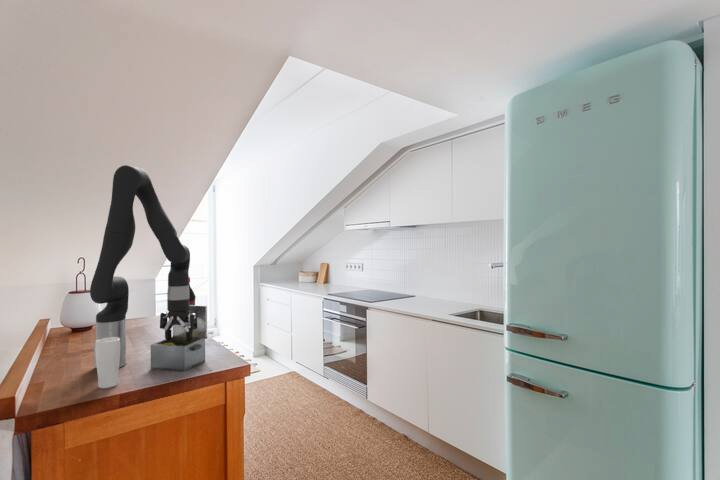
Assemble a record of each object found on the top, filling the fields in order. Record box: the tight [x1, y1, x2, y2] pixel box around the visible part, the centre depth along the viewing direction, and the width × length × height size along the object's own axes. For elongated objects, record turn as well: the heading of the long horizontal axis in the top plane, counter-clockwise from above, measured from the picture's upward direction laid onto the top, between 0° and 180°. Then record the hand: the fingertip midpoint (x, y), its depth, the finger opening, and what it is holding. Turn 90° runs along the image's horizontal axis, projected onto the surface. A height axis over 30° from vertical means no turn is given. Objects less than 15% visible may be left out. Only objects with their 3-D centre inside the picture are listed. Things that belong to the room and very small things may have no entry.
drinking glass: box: [94, 337, 120, 390], centre depth 121 cm, size 7×7×15 cm
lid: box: [172, 304, 208, 340], centre depth 148 cm, size 15×13×2 cm
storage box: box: [150, 335, 206, 373], centre depth 141 cm, size 16×12×9 cm
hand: (178, 340), depth 141 cm, fingers open, 8 cm apart
